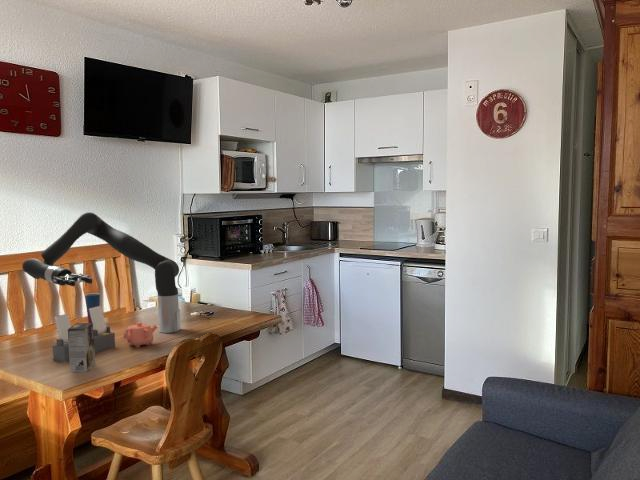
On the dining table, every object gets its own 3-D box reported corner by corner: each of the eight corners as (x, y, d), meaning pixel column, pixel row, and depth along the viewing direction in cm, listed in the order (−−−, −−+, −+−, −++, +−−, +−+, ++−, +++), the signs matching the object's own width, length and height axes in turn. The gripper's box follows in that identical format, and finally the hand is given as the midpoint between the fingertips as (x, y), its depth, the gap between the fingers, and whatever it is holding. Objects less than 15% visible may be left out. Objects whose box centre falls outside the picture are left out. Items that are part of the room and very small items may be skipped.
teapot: (158, 341, 237) (157, 319, 236) (148, 348, 225) (147, 325, 224) (132, 341, 237) (131, 319, 236) (121, 348, 225) (120, 325, 225)
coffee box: (78, 364, 205) (76, 322, 204) (95, 363, 205) (93, 322, 204) (69, 372, 196) (66, 328, 194) (87, 371, 196) (85, 328, 195)
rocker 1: (60, 344, 211) (54, 316, 211) (71, 341, 215) (65, 314, 216) (63, 343, 210) (56, 315, 211) (74, 340, 214) (68, 313, 215)
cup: (104, 322, 273) (102, 293, 271) (94, 326, 266) (93, 296, 265) (93, 322, 275) (91, 293, 274) (83, 325, 269) (81, 295, 267)
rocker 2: (95, 334, 225) (88, 308, 225) (104, 331, 229) (98, 306, 230) (97, 334, 224) (91, 308, 225) (107, 331, 229) (101, 305, 229)
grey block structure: (53, 359, 211) (52, 338, 211) (103, 344, 233) (102, 325, 232) (65, 362, 208) (63, 340, 207) (115, 346, 229) (114, 326, 228)
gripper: (43, 268, 231) (68, 276, 223) (72, 265, 243) (97, 272, 236) (43, 285, 232) (68, 293, 224) (72, 281, 244) (96, 288, 237)
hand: (83, 282), depth 230 cm, fingers open, 8 cm apart
